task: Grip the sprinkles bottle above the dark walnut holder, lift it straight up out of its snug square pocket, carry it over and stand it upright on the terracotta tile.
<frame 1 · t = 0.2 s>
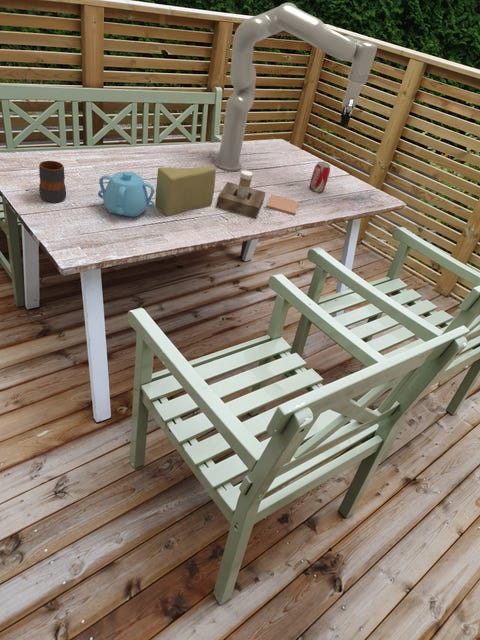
hand: (343, 121, 202), 31 cm above the table, tool pointing down, fingers open, 9 cm apart
decorative pot: (125, 210, 172), on the table
sprinkles bottle: (240, 205, 193), resting in walnut holder
terracotta tile: (282, 205, 200), on the table
walnut holder: (240, 204, 193), on the table
soda can: (316, 190, 221), on the table
cheese: (186, 208, 182), on the table
mug: (51, 196, 169), on the table
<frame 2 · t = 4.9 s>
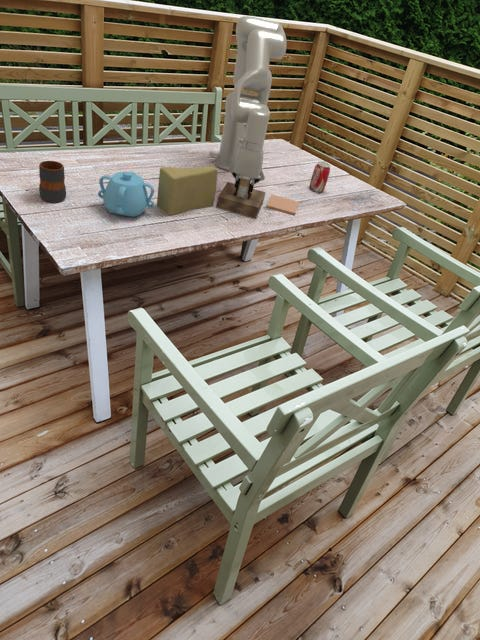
hand: (243, 191, 189), 6 cm above the table, tool pointing down, fingers closed on sprinkles bottle, 4 cm apart
sprinkles bottle: (240, 205, 193), resting in walnut holder, touching gripper
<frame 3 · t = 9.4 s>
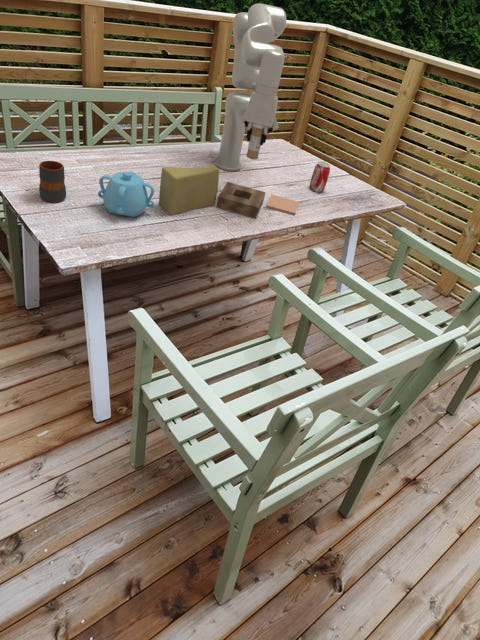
hand: (255, 142, 178), 25 cm above the table, tool pointing down, fingers closed on sprinkles bottle, 4 cm apart
sprinkles bottle: (251, 158, 182), point 19 cm above the table, touching gripper
when the fingers open (8 cm above the table, at t = 14.1 s): sprinkles bottle drops 1 cm, resting on terracotta tile.
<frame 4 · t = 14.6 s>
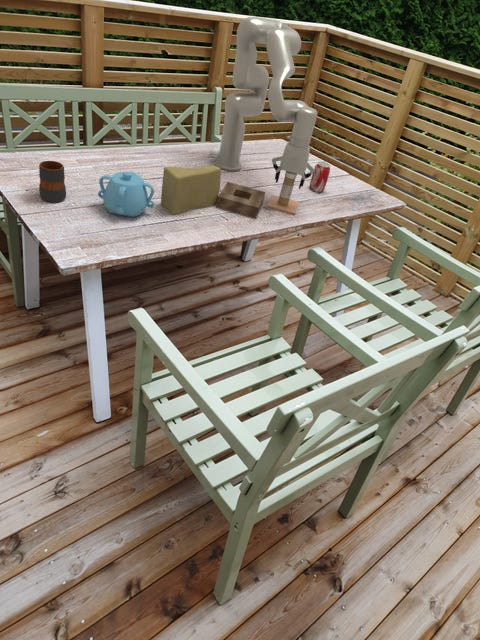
hand: (288, 184, 194), 9 cm above the table, tool pointing down, fingers open, 9 cm apart
sprinkles bottle: (282, 203, 200), point 1 cm above the table, touching terracotta tile
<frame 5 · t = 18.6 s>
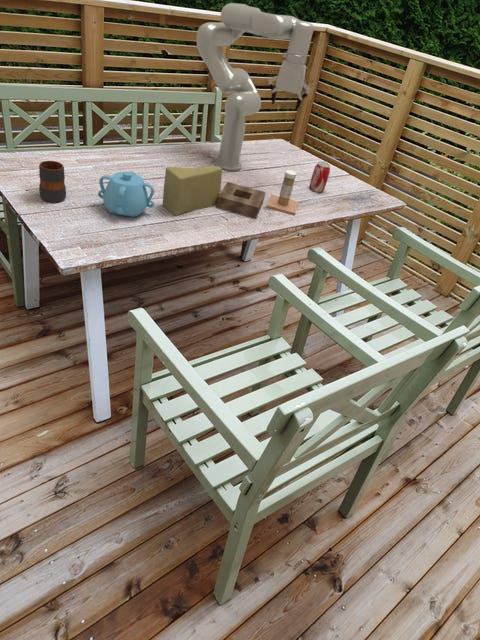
hand: (284, 106, 194), 33 cm above the table, tool pointing down, fingers open, 9 cm apart
at the end: sprinkles bottle inside the target area on the terracotta tile (0.1 cm from its centre), point 0.8 cm above the terracotta tile's base; sprinkles bottle tilted 0°; the gripper is holding nothing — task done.
